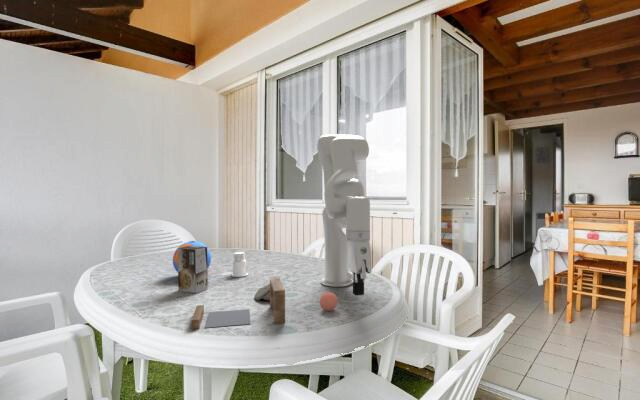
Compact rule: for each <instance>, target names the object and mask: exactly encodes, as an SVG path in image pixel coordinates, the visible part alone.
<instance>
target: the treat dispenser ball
mask: <svg viewBox="0 0 640 400" xmlns="http://www.w3.org/2000/svg"><path fill="white" fill-rule="evenodd" d="M185 246H201V247H207V246H206V245H205V244H204V243H202V242H200V241H197V240H196V241H195V240H190V241H187V242H186V241H185V242H184V243H181V244H180V245H179V246H178V247H177V248H176V249H175V251H174V253H173V255H172V265H173V268H174V270H175V271H176V272H177V273H178V248H182V247H185ZM211 262H212V256H211V252H210V249H209V248H208V247H207V268H208V269H209V267H210V265H211Z"/></svg>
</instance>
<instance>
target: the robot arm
mask: <svg viewBox="0 0 640 400" xmlns="http://www.w3.org/2000/svg"><path fill="white" fill-rule="evenodd" d="M316 146H317V155H318V159H319V162H320V165H321V167H322V170H323V181H324V182H323V184H324V186H323V187H324V192H323V193H324V204H325V207H324V208H323V210H322V223H323V228H324V229H323V231H324V277H323V278H321V279H320V284H322V285H323V286H326V287H333V288H343V287H347V286H351V285H352V295H354V296H364V294H365V279H367V274H371V273H372V271H373V269H372V268H373V267H372V253H371V252H372V250H371V244H370V243H371V242H370V241H371V201H370V199H369V197H366V196H365V190H364V189H365V188H364V185H363V183H362V181H361V180H359V179H357V178H355V177H357V175H358V166H357V162H356V161H363V160H366V159H367V158H368V156H369V153H370V147H369V142H368V141H367V140H366V138H364V137H362V136H360V135H354V134H324V135H321V136H320V137H319V138H318V140H317V144H316ZM343 229H346V230H345V232H344V231H343ZM349 270H350V271H349Z"/></svg>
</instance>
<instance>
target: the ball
mask: <svg viewBox="0 0 640 400" xmlns="http://www.w3.org/2000/svg"><path fill="white" fill-rule="evenodd" d="M338 300H339V299H338V298H337V296H336V294H335V293H333V292H330V291H327V292H324V293H322V295H320V297H319V305H320V307H321V308H322V309H323V310H324V311H327V312H329V311H330V312H331V311H333V310H335V309H336V307H338V306H337V305H338Z"/></svg>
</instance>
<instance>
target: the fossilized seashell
mask: <svg viewBox="0 0 640 400" xmlns="http://www.w3.org/2000/svg"><path fill="white" fill-rule="evenodd" d="M253 299H254V300H255V301H261V300H262V299H263V300H265V301H270V283H268V284H266V285H265V286H262V287H260V288H259V289H258V290H257V291H256V292H255V294H254V297H253Z"/></svg>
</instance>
